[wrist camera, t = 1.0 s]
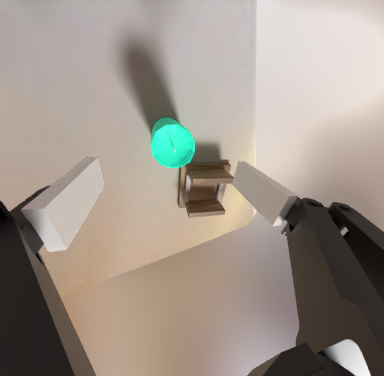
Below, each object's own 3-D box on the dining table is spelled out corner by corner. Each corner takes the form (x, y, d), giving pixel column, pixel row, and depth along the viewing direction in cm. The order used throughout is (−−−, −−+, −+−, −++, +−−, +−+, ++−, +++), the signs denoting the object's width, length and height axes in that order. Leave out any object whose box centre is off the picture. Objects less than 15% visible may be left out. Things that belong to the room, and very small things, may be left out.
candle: (188, 132, 28) (207, 148, 18) (169, 155, 29) (177, 181, 19) (164, 109, 25) (171, 113, 15) (145, 135, 26) (139, 154, 16)
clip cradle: (180, 163, 31) (186, 174, 26) (229, 163, 34) (242, 173, 29) (178, 205, 37) (182, 221, 32) (219, 202, 40) (228, 217, 35)
